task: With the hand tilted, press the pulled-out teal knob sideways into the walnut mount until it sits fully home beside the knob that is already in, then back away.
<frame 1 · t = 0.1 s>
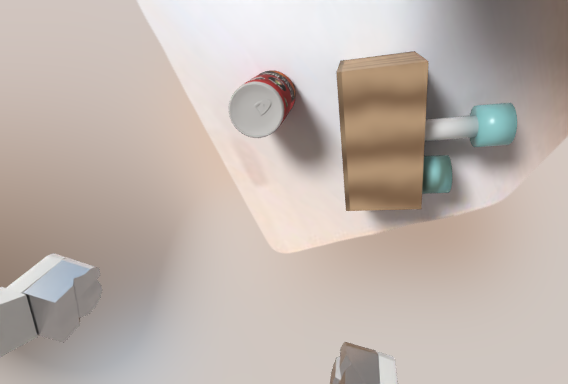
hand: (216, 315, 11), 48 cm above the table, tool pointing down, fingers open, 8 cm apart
mount: (379, 121, 54), on the table
knob: (452, 128, 47), point 6 cm above the table, slide at 7.0 cm
canned food: (273, 94, 55), on the table
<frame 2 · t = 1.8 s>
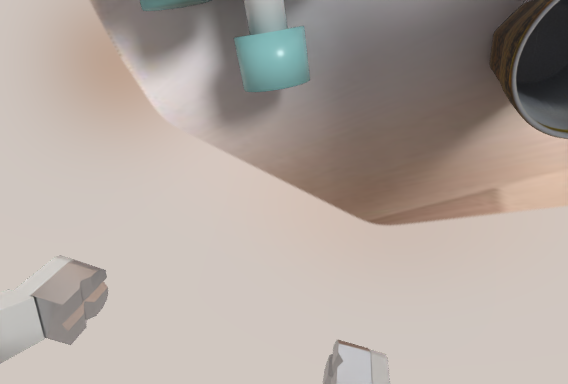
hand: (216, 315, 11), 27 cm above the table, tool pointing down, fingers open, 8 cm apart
ceramic cup: (534, 24, 28), on the table
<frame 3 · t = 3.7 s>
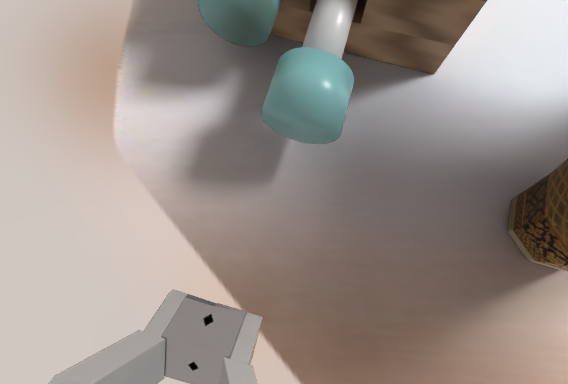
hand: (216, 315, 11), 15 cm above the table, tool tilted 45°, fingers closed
mount: (340, 6, 33), on the table
ceramic cup: (546, 210, 28), on the table
knob: (324, 42, 25), point 6 cm above the table, slide at 7.0 cm
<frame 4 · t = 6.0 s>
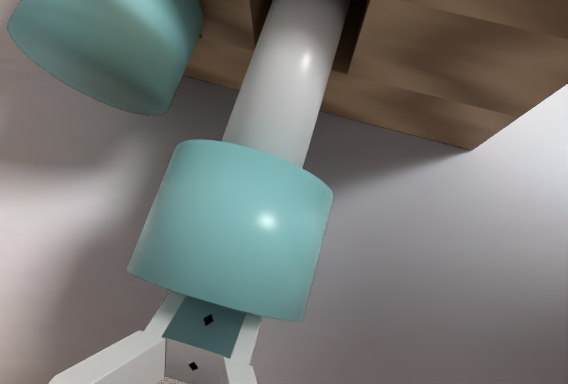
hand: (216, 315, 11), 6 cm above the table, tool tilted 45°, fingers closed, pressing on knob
mount: (318, 34, 20), on the table
knob: (278, 106, 12), point 6 cm above the table, slide at 6.3 cm, touching gripper
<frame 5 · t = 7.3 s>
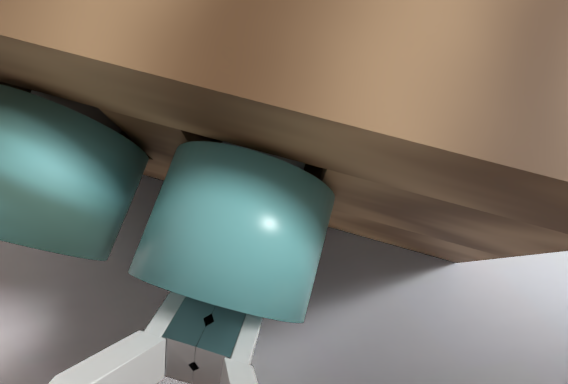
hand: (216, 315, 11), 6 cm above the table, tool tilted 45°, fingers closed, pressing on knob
mount: (291, 125, 19), on the table
knob: (279, 107, 12), point 6 cm above the table, slide at -0.1 cm, touching gripper
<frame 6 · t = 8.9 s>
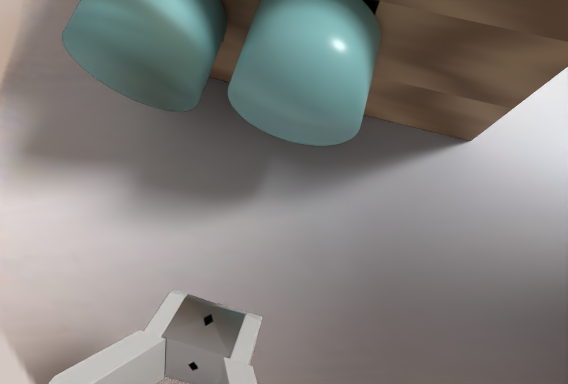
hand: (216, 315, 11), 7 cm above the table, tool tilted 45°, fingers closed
mount: (327, 35, 22), on the table
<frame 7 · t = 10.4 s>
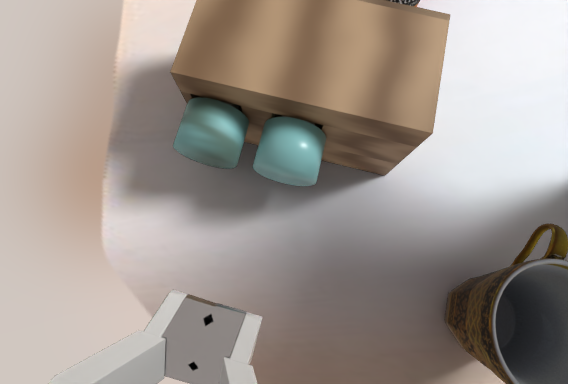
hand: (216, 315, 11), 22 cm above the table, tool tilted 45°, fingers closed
mount: (303, 111, 37), on the table
ceramic cup: (478, 299, 33), on the table
knob: (302, 103, 30), point 6 cm above the table, slide at 0.0 cm
canned food: (383, 0, 41), on the table
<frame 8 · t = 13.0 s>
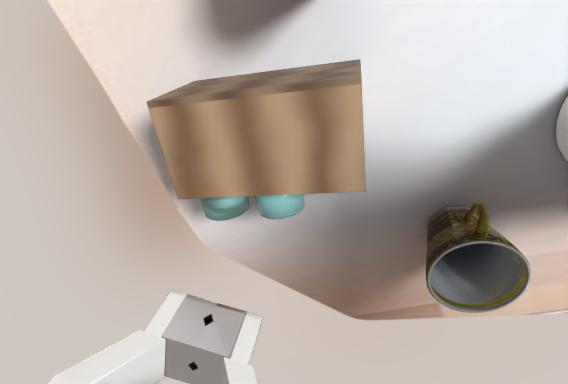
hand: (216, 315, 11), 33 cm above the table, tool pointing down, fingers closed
mount: (279, 117, 42), on the table
ceramic cup: (454, 216, 44), on the table
knob: (272, 153, 37), point 6 cm above the table, slide at 0.0 cm
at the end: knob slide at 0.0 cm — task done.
